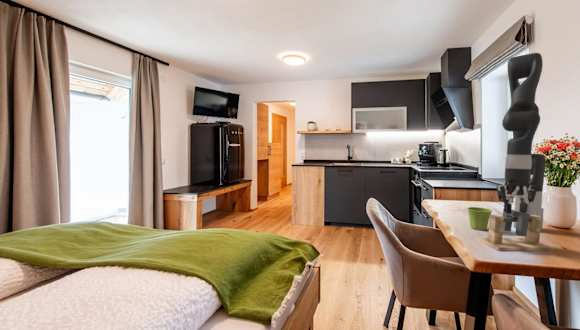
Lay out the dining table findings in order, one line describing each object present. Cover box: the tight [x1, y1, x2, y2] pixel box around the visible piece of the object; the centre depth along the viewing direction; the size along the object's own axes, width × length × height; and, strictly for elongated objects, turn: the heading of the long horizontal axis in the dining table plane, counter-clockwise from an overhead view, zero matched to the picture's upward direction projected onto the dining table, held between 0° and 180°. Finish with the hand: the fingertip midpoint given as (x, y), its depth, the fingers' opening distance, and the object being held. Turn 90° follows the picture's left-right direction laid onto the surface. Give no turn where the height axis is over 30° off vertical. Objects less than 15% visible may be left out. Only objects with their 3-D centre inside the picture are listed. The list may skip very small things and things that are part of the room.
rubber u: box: [502, 208, 530, 238], centre depth 109 cm, size 2×9×8 cm, turn 3°
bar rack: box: [476, 214, 554, 252], centre depth 109 cm, size 20×11×11 cm, turn 92°
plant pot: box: [466, 206, 493, 231], centre depth 132 cm, size 9×9×9 cm
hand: (515, 213), depth 109 cm, fingers open, 5 cm apart
